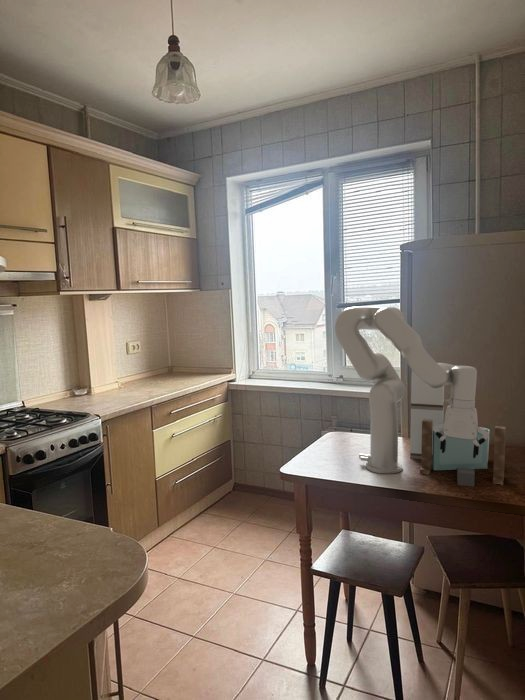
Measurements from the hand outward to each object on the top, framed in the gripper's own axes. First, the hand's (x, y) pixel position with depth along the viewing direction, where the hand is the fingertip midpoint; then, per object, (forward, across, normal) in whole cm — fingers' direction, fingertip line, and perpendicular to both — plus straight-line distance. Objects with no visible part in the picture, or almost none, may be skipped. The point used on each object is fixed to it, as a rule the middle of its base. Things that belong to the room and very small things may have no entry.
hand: (458, 454), depth 165 cm
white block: (+10, -14, +23) cm, 29 cm away
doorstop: (+9, +2, +3) cm, 10 cm away
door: (+8, 0, +11) cm, 14 cm away
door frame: (+9, +1, +5) cm, 10 cm away
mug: (+9, +5, +26) cm, 28 cm away
